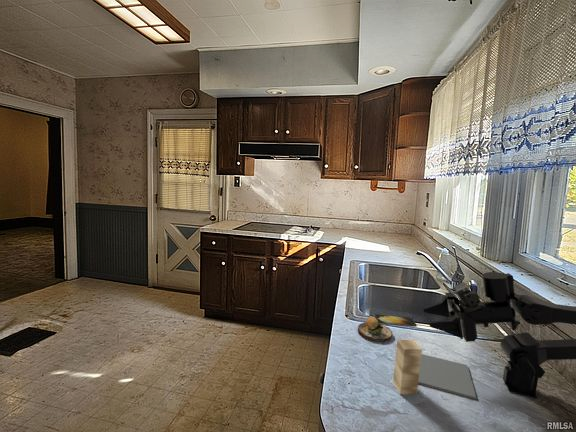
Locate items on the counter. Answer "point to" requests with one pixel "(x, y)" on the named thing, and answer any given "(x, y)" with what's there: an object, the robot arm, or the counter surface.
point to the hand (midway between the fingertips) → (426, 317)
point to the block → (407, 366)
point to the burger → (374, 331)
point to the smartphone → (395, 320)
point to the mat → (446, 376)
